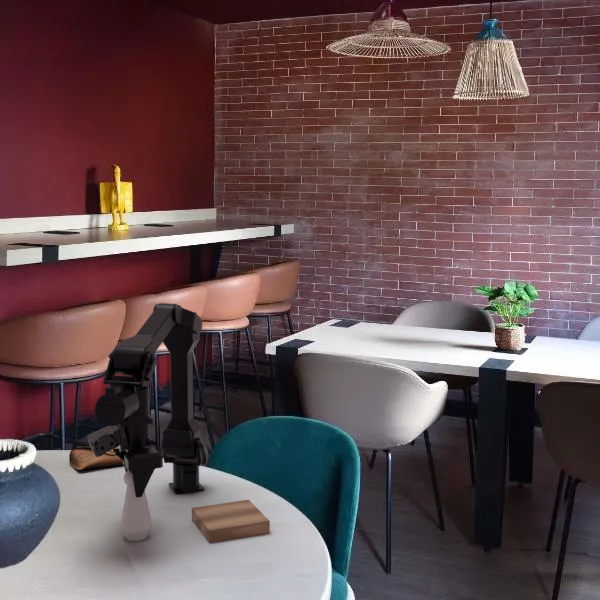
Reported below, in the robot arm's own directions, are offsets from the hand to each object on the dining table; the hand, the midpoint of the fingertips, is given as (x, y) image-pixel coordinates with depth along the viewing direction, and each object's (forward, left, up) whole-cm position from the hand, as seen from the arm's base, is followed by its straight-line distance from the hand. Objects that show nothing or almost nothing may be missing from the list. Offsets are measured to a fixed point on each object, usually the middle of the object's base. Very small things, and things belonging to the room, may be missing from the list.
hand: (135, 492), depth 159 cm
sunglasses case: (-42, +4, -10) cm, 43 cm away
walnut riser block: (+2, +18, -9) cm, 20 cm away
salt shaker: (0, 0, -9) cm, 9 cm away
